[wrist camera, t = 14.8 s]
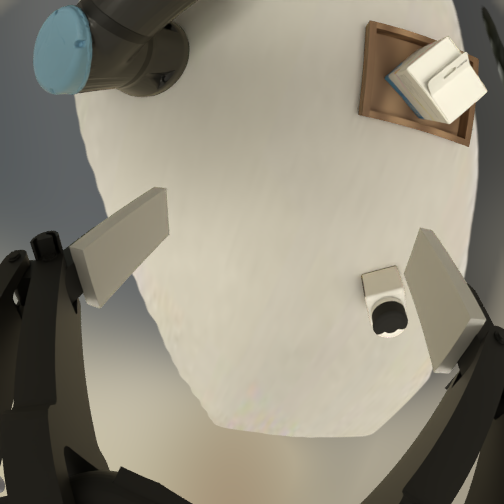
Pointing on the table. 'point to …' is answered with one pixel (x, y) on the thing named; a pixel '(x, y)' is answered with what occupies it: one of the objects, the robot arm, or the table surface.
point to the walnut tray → (383, 94)
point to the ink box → (437, 82)
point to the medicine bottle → (385, 301)
